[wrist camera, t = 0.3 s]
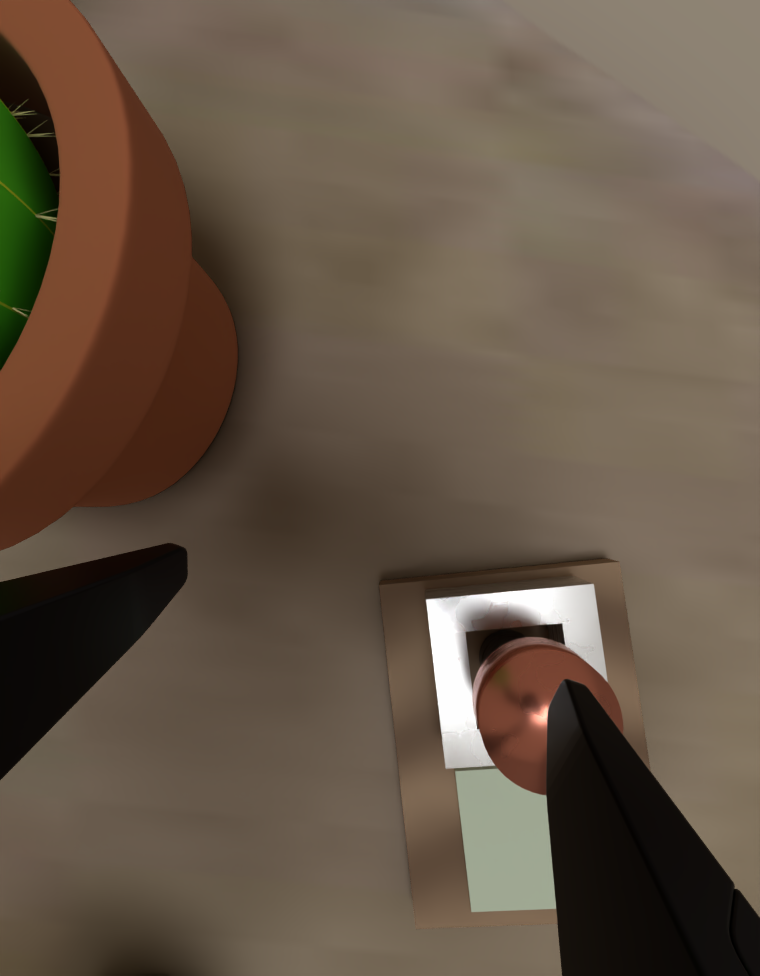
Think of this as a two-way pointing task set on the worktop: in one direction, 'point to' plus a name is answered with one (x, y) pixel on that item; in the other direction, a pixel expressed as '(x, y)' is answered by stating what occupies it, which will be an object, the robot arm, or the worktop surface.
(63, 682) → the robot arm
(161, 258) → the potted cactus
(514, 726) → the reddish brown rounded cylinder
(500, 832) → the rubber pad
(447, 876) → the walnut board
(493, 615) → the block
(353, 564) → the worktop surface
